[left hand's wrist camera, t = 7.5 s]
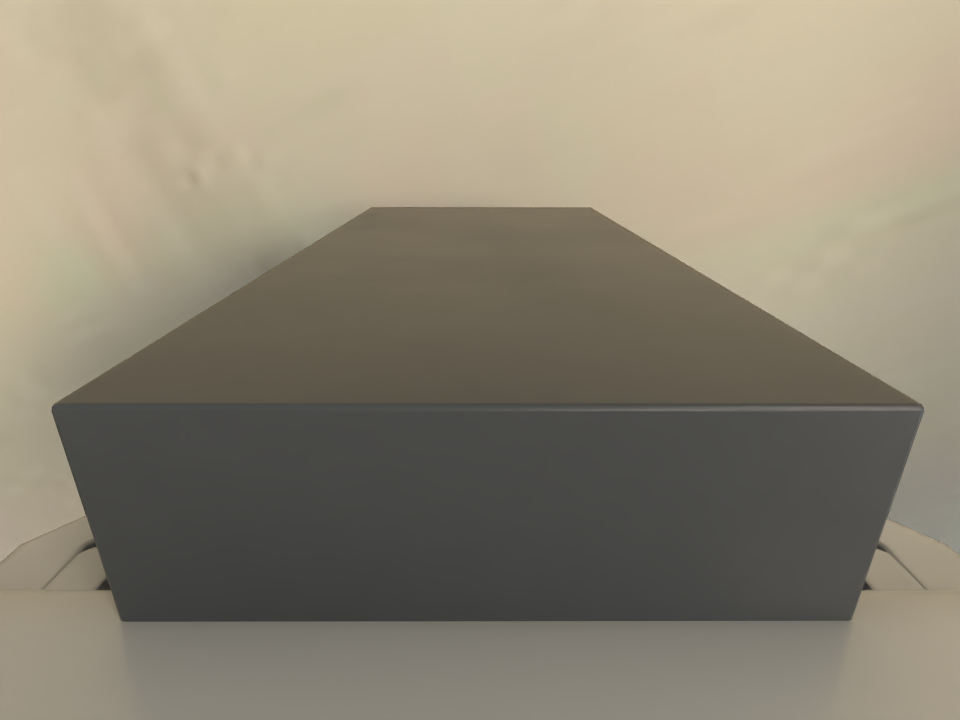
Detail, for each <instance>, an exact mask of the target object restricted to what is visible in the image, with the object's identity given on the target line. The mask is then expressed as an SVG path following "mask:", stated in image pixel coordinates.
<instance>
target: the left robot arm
mask: <svg viewBox="0 0 960 720" xmlns="http://www.w3.org/2000/svg"><path fill="white" fill-rule="evenodd" d="M0 720H960V555H958V554H957V553H956V552H955V551H954V550H953V549H952V548H950V547H949V546H948V545H946V544H943V543H941V542H939V541H937V540H934V539H932V538H930V537H928V536H925V535H923V534H921V533H919V532H916V531H914V530H912V529H910V528H907V527H905V526H903V525H901V524H898V523H896V522H894V521H892V520H889V519H886V522H885V525H884V528H883V531H882V533H881V536H880V539H879V542H878V545H877V548H876V551H875V554H874V557H873V559H872V562H871V565H870V568H869V571H868V574H867V577H866V580H865V582H864V585H863V588H862V591H861V594H860V597H859V600H858V603H857V606H856V608H855V611H854V614H853V617H852V620H849V621H312V622H124V621H121V619H120V616H119V613H118V610H117V607H116V604H115V601H114V598H113V595H112V592H111V589H110V586H109V583H108V580H107V577H106V574H105V571H104V568H103V565H102V562H101V559H100V556H99V553H98V550H97V547H96V544H95V541H94V538H93V535H92V532H91V529H90V526H89V523H88V520H87V517H86V516H84V517H82V518H80V519H78V520H75V521H73V522H71V523H69V524H66V525H64V526H62V527H60V528H57V529H55V530H53V531H51V532H48V533H46V534H44V535H42V536H39V537H37V538H35V539H33V540H31V541H28V542H26V543H24V544H22V545H20V546H19V547H18V548H17V549H15V550H14V551H13V552H12V553H11V554H10V555H9V556H7V557H6V558H5V559H4V560H3V561H2V562H1V563H0Z"/></svg>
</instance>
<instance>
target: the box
mask: <svg viewBox="0 0 960 720" xmlns="http://www.w3.org/2000/svg"><path fill="white" fill-rule="evenodd" d="M923 412H924V408H923V406H922V405H921V404H920V403H918V402H916V401H915V400H913V399H911V398H910V397H908V396H906V395H905V394H903V393H901V392H900V391H898V390H896V389H895V388H893V387H891V386H890V385H888V384H886V383H885V382H883V381H881V380H879V379H878V378H876V377H874V376H873V375H871V374H869V373H868V372H866V371H864V370H863V369H861V368H859V367H858V366H856V365H854V364H853V363H851V362H849V361H848V360H846V359H844V358H843V357H841V356H839V355H837V354H836V353H834V352H832V351H831V350H829V349H827V348H826V347H824V346H822V345H821V344H819V343H817V342H816V341H814V340H812V339H811V338H809V337H807V336H806V335H804V334H802V333H801V332H799V331H797V330H795V329H794V328H792V327H790V326H789V325H787V324H785V323H784V322H782V321H780V320H779V319H777V318H775V317H774V316H772V315H770V314H769V313H767V312H765V311H764V310H762V309H760V308H759V307H757V306H755V305H753V304H752V303H750V302H748V301H747V300H745V299H743V298H742V297H740V296H738V295H737V294H735V293H733V292H732V291H730V290H728V289H727V288H725V287H723V286H722V285H720V284H718V283H717V282H715V281H713V280H711V279H710V278H708V277H706V276H705V275H703V274H701V273H700V272H698V271H696V270H695V269H693V268H691V267H690V266H688V265H686V264H685V263H683V262H681V261H680V260H678V259H676V258H675V257H673V256H671V255H669V254H668V253H666V252H664V251H663V250H661V249H659V248H658V247H656V246H654V245H653V244H651V243H649V242H648V241H646V240H644V239H643V238H641V237H639V236H638V235H636V234H634V233H633V232H631V231H629V230H627V229H626V228H624V227H622V226H621V225H619V224H617V223H616V222H614V221H612V220H611V219H609V218H607V217H606V216H604V215H602V214H601V213H599V212H597V211H596V210H594V209H592V208H487V207H372V208H370V209H368V210H367V211H365V212H363V213H362V214H360V215H359V216H357V217H355V218H354V219H352V220H350V221H349V222H347V223H346V224H344V225H342V226H341V227H339V228H338V229H336V230H334V231H333V232H331V233H330V234H328V235H326V236H325V237H323V238H321V239H320V240H318V241H317V242H315V243H313V244H312V245H310V246H309V247H307V248H305V249H304V250H302V251H300V252H299V253H297V254H296V255H294V256H292V257H291V258H289V259H288V260H286V261H284V262H283V263H281V264H279V265H278V266H276V267H275V268H273V269H271V270H270V271H268V272H267V273H265V274H263V275H262V276H260V277H258V278H257V279H255V280H254V281H252V282H250V283H249V284H247V285H246V286H244V287H242V288H241V289H239V290H237V291H236V292H234V293H233V294H231V295H229V296H228V297H226V298H225V299H223V300H221V301H220V302H218V303H216V304H215V305H213V306H212V307H210V308H208V309H207V310H205V311H204V312H202V313H200V314H199V315H197V316H195V317H194V318H192V319H191V320H189V321H187V322H186V323H184V324H183V325H181V326H179V327H178V328H176V329H174V330H173V331H171V332H170V333H168V334H166V335H165V336H163V337H162V338H160V339H158V340H157V341H155V342H154V343H152V344H150V345H149V346H147V347H145V348H144V349H142V350H141V351H139V352H137V353H136V354H134V355H133V356H131V357H129V358H128V359H126V360H124V361H123V362H121V363H120V364H118V365H116V366H115V367H113V368H112V369H110V370H108V371H107V372H105V373H103V374H102V375H100V376H99V377H97V378H95V379H94V380H92V381H91V382H89V383H87V384H86V385H84V386H82V387H81V388H79V389H78V390H76V391H74V392H73V393H71V394H70V395H68V396H66V397H65V398H63V399H61V400H60V401H58V402H57V403H55V404H54V405H53V406H52V414H53V417H54V420H55V423H56V426H57V429H58V432H59V435H60V438H61V441H62V444H63V447H64V450H65V453H66V456H67V459H68V462H69V465H70V468H71V471H72V474H73V477H74V480H75V483H76V486H77V489H78V492H79V495H80V498H81V501H82V504H83V507H84V510H85V514H86V517H87V520H88V523H89V526H90V529H91V532H92V535H93V538H94V541H95V544H96V547H97V550H98V553H99V556H100V559H101V562H102V565H103V568H104V571H105V574H106V577H107V580H108V583H109V586H110V589H111V592H112V595H113V598H114V601H115V604H116V607H117V610H118V613H119V616H120V619H121V621H124V622H312V621H849V620H852V617H853V614H854V611H855V608H856V606H857V603H858V600H859V597H860V594H861V591H862V588H863V585H864V582H865V580H866V577H867V574H868V571H869V568H870V565H871V562H872V559H873V557H874V554H875V551H876V548H877V545H878V542H879V539H880V536H881V533H882V531H883V528H884V525H885V522H886V519H887V516H888V513H889V510H890V507H891V505H892V502H893V499H894V496H895V493H896V490H897V487H898V484H899V481H900V479H901V476H902V473H903V470H904V467H905V464H906V461H907V458H908V456H909V453H910V450H911V447H912V444H913V441H914V438H915V435H916V432H917V430H918V427H919V424H920V421H921V418H922V415H923Z"/></svg>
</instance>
